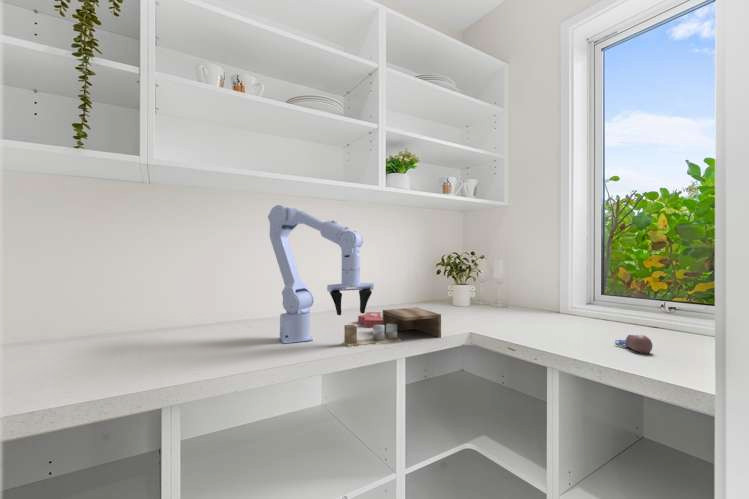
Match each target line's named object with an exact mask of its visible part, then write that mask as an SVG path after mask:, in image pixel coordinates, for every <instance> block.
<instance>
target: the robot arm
mask: <svg viewBox="0 0 749 499" xmlns="http://www.w3.org/2000/svg"><path fill="white" fill-rule="evenodd" d="M267 219H268V222H269V239H270V242H271V246H272V249H273V252H274V255H275V258H276V261H277V264H278V268H279V270H280V271H279V272H280V274H281V277H282V280H283V283H284V287H283V289H282V291H281V296H282V306H283V308H284V310H285V311H286V312H285V313H283V312H282V313H281V314H280V315H279V316H280V317H279V339H280V341H281V342H282V344H290V343H291V344H292V343H300V342H309V341H311V342H312V341H313V340H314V338H313V337H312V335H310V332H311V331H310V330H311V328H310V327H311V323H310V322H311V321H310V320H311V319H310V318H311V315H310V314H311V312H310V311H311V307H312V306H313V305H314V301H315V300H314V299H315V298H314V294H313V293H312V292H311V291H310V290H309V288H308V286H307V284H306V283H305V282H303V280H302V278H301V276H300V272H299V269H298V267H297V263H296V260H295V256H294V253H293V251H292V248H291V244H290V242H289V239H288V237H289V235H290V234H291V233H292V232H293V231H294V229H296V228H297V226H298V225H305V226H307V227H309V228H312V229H314V230H317V231H319V232H320V236H321V237H323V238H324V239H327V240H328V241H330V242H332V243H333V244H336V245H338V246H339V247H340V249H341V283H333V284H327V285H326V287H327V288H326V291H327V292H329V295H330V296H331V299H332V301H333V303H334V307H335V310H336V315H337V316H342V296H343V293H341V291H358V294H359V312H360V314H361V315H365V314H366V308H367V305H368V304H367V303H368V302H369V299H370V298H371V295H372V292H373V291H372V290H374V283H373V282H362V283H361V247H362V245H363V242H364V239H363V236H362V235H361V234H360V233H359V232H358V231H356V230H353V231H351V230H350V227H348V226H343V225H340V224H338V221H336V220H334V219H333V220H327V221H323V220H321V219H319V218H317V217H316V216H314V215H311V214H309V213H308V212H306V211H303V210H299V209H298V208H295V207H294V208H292V207H287V206H283V205H281V204H277V205H275V206H273V207H272V208H271V210H270V211H269V214H268V215H267Z"/></svg>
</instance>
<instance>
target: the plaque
mask: <svg viewBox="0 0 749 499" xmlns="http://www.w3.org/2000/svg"><path fill="white" fill-rule="evenodd" d="M357 321H358V324H360V325H361V324H362V325H364V326H363V327H364V328H368V329H369V328H371V329H373V326H374V325H383V311H380V312H379V311H374V312H373V311H370V312H369V311H368V312H365V313H364V314H360V315H358V317H357Z"/></svg>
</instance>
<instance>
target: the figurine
mask: <svg viewBox="0 0 749 499" xmlns="http://www.w3.org/2000/svg"><path fill="white" fill-rule="evenodd" d="M614 344H615V345H625V346H626V347H627V348H630V349H631V350H633V351H636V352H637V353H639V354H642V355H646V354H648V355H649V354H650V353H651V352H652V350H653V342H652V340H651V339H650V338H649V337H648V336H646V335H644V334H643V335H641V334H640V335H639V334H635V335H634V334H628V335H627V336H626V338H625V340H623V339H615V340H614Z"/></svg>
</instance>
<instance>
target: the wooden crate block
mask: <svg viewBox="0 0 749 499" xmlns="http://www.w3.org/2000/svg"><path fill="white" fill-rule="evenodd" d="M382 312H383V325H384V333H386V324H397V332H398V331H406V330H418V331H421V332H423V333H426V334H428V335H430V334H431V336H433V337H435V336H436V337H435V338H438V339H440V338H442V314H441V313H438V312H434V311H431V310H427V309H424V308H420V307H405V308H402V307H401V308H391V309H390V308H389V309H382Z"/></svg>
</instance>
